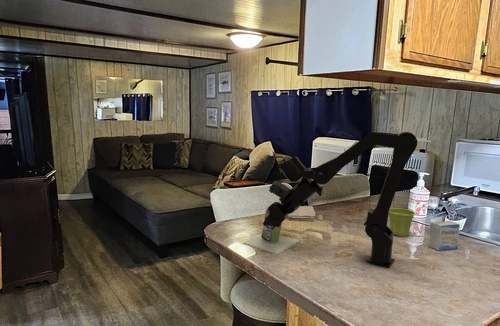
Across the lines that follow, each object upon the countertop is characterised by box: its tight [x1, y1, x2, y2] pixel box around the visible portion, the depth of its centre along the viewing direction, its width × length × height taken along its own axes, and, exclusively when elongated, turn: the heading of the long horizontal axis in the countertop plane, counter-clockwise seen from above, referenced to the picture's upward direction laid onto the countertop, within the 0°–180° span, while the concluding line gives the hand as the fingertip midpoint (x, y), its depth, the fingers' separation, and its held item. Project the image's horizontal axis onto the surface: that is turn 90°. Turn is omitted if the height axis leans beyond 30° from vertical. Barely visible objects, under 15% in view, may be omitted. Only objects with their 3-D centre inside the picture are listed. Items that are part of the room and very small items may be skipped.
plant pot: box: [388, 207, 416, 237], centre depth 127 cm, size 9×9×9 cm
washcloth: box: [287, 205, 316, 222], centre depth 150 cm, size 12×18×3 cm, turn 176°
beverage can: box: [261, 208, 283, 243], centre depth 116 cm, size 6×7×12 cm
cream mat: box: [242, 233, 300, 255], centre depth 117 cm, size 14×14×1 cm
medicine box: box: [428, 220, 461, 252], centre depth 114 cm, size 8×4×9 cm, turn 105°
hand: (268, 221), depth 116 cm, fingers open, 8 cm apart
